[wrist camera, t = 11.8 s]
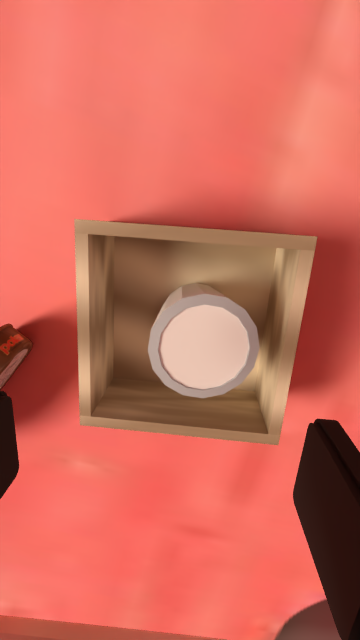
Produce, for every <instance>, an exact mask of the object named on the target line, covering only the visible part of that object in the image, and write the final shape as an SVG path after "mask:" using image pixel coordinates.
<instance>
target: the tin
mask: <svg viewBox="0 0 360 640" xmlns="http://www.w3.org/2000/svg"><path fill="white" fill-rule="evenodd" d="M32 346H33V344H32V342H31V341H30V340H29V339H28V338H27V337H25V336H24V335H23V334H21V333H20V332H19V331H17V330H16V329H15V328H13V326H12V325H11V324H6V325H3V326H1V327H0V390H1V388H2V387H3V386H4V385H5V383H6V382H7V381H8V380H9V378H10V377H11V376H12V374H13V373H14V372H15V371H16V369H17V368H18V367H19V365H20V364H21V363H22V362H23V360H24V359H25V357H26V356H27V355H28V353H29V352H30V350H31V348H32Z"/></svg>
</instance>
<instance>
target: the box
mask: <svg viewBox="0 0 360 640" xmlns="http://www.w3.org/2000/svg"><path fill="white" fill-rule="evenodd" d="M316 242H317V236H304V235H291V234H277V233H263V232H249V231H235V230H222V229H208V228H194V227H180V226H166V225H152V224H138V223H124V222H110V221H95V220H80V219H75V257H76V295H77V333H78V371H79V409H80V425H84V426H94V427H104V428H114V429H124V430H134V431H144V432H154V433H163V434H173V435H183V436H193V437H203V438H213V439H223V440H232V441H242V442H252V443H262V444H272V445H278V444H279V439H280V434H281V428H282V423H283V418H284V412H285V407H286V402H287V396H288V391H289V386H290V380H291V375H292V370H293V364H294V359H295V354H296V348H297V343H298V338H299V332H300V327H301V322H302V316H303V311H304V306H305V300H306V295H307V290H308V284H309V279H310V274H311V268H312V263H313V258H314V252H315V247H316ZM193 283H198V284H204V285H209V286H210V287H212V288H213V289H215V290H216V291H218V292H220V293H221V294H223V295H224V296H226V297H227V298H229V299H230V300H232V301H233V302H235V303H236V304H238V305H239V306H241V307H242V308H244V309H245V310H246V311H247V313H248V314H249V316H250V318H251V319H252V321H253V322H254V324H255V325H256V327H257V333H258V340H259V347H260V348H259V352H258V355H257V359H256V362H255V366H254V368H253V369H252V371H251V372H250V373H249V374H248V376H247V377H246V378H245V379H244V381H243V382H242V383H241V384H240V385H238V386H236V387H235V388H233V389H231V390H230V391H228V392H226V393H225V394H222V395H217V396H212V397H207V398H198V397H191V396H185V395H182V394H180V393H178V392H176V391H174V390H173V389H171V388H169V387H167V386H166V385H165V384H164V383H163V382H162V381H161V379H160V378H159V377H158V376H157V374H156V373H155V372H154V370H153V369H152V365H151V361H150V357H149V353H148V345H149V339H150V333H151V329H152V326H153V324H154V322H155V320H156V318H157V316H158V314H159V312H160V310H161V308H162V306H163V304H164V303H165V301H166V300H167V298H168V297H169V295H170V294H171V293H172V292H173V291H175V290H176V289H178V288H179V287H181V286H183V285H188V284H193Z"/></svg>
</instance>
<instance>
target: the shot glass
mask: <svg viewBox="0 0 360 640" xmlns="http://www.w3.org/2000/svg"><path fill="white" fill-rule="evenodd" d="M259 348H260V347H259V340H258V333H257V327H256V325H255V324H254V322H253V321H252V319H251V318H250V316H249V314H248V313H247V311H246V310H245V309H244V308H242V307H241V306H239V305H238V304H236V303H235V302H233V301H232V300H230V299H229V298H227V297H226V296H224V295H223V294H221V293H220V292H218V291H216V290H215V289H213V288H212V287H210V286H209V285H204V284H198V283H193V284H188V285H183V286H181V287H179V288H178V289H176V290H175V291H173V292H172V293H171V294H170V295H169V297H168V298H167V300H166V301H165V303H164V304H163V306H162V308H161V310H160V312H159V314H158V316H157V318H156V320H155V322H154V324H153V326H152V329H151V333H150V339H149V345H148V353H149V357H150V361H151V365H152V369H153V370H154V372H155V373H156V374H157V376H158V377H159V378H160V379H161V381H162V382H163V383H164V384H165V385H166V386H167V387H169V388H171V389H173V390H174V391H176V392H178V393H180V394H182V395H185V396H191V397H198V398H207V397H212V396H217V395H222V394H225V393H226V392H228V391H230V390H231V389H233V388H235V387H236V386H238V385H240V384H241V383H242V382H243V381H244V379H245V378H246V377H247V376H248V374H249V373H250V372H251V371H252V369H253V368H254V366H255V362H256V359H257V355H258V352H259Z"/></svg>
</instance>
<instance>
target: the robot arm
mask: <svg viewBox="0 0 360 640" xmlns="http://www.w3.org/2000/svg"><path fill="white" fill-rule="evenodd" d="M18 470H19V460H18V451H17V442H16V434H15V425H14V416H13V408H12V400H11V398H10V397H8V396H7V394H6V393H5V392H4V391H0V499H1V497H2V496H3V495H4V493H5V492H6V490H7V489H8V487H9V486H10V485H11V483H12V482H13V480H14V479H15V477H16V475H17V473H18ZM293 499H294V504H295V507H296V510H297V513H298V516H299V519H300V522H301V525H302V528H303V531H304V534H305V536H306V539H307V542H308V545H309V548H310V551H311V554H312V557H313V560H314V563H315V566H316V569H317V572H318V574H319V577H320V580H321V583H322V586H323V589H324V592H325V595H326V598H327V601H328V604H329V606H330V610H331V612H332V615H333V618H334V621H335V624H336V627H337V630H338V633H339V635H340V637H341V639H342V640H360V452H359V451H358V449H357V448H356V446H355V445H354V444H353V442H352V441H351V439H350V438H349V436H348V435H347V434H346V432H345V431H344V429H343V428H342V426H341V425H340V423H339V422H338V421H336V420H326V419H316V420H315V422H314V423H310V424H309V426H308V429H307V434H306V438H305V443H304V447H303V451H302V456H301V460H300V464H299V469H298V473H297V477H296V482H295V486H294V491H293ZM0 640H225V639H217V638H208V637H199V636H190V635H182V634H173V633H163V632H154V631H145V630H136V629H126V628H117V627H108V626H99V625H89V624H80V623H70V622H61V621H52V620H42V619H33V618H23V617H13V616H3V615H0Z"/></svg>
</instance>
